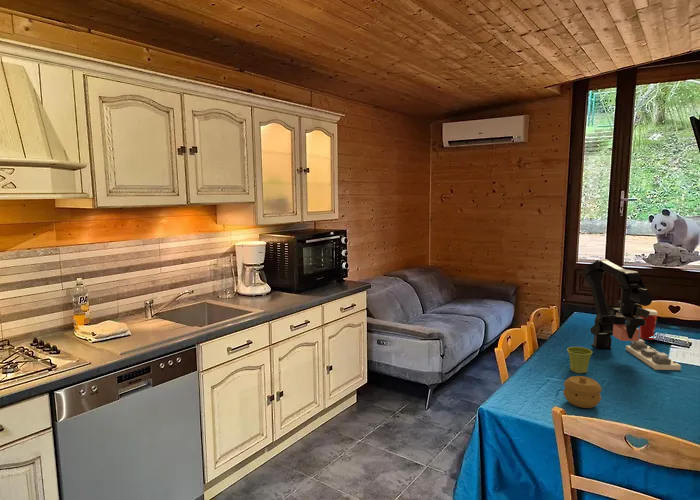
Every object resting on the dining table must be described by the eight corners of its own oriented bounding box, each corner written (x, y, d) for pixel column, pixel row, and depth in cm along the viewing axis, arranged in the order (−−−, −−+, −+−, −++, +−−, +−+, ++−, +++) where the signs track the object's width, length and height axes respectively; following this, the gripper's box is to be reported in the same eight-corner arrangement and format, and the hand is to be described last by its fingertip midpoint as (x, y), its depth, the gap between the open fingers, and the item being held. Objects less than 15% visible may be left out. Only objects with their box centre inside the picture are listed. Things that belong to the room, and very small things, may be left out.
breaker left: (637, 345, 215) (637, 341, 215) (633, 343, 218) (633, 338, 218) (644, 345, 215) (644, 341, 215) (640, 343, 218) (641, 339, 218)
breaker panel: (654, 369, 197) (655, 360, 196) (625, 349, 220) (626, 341, 220) (680, 370, 196) (681, 360, 195) (648, 350, 220) (649, 341, 219)
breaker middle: (647, 355, 207) (647, 351, 206) (643, 353, 210) (643, 349, 209) (655, 356, 206) (655, 351, 206) (651, 353, 209) (651, 349, 209)
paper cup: (659, 340, 233) (661, 312, 231) (643, 340, 233) (645, 312, 231) (649, 335, 241) (651, 308, 239) (634, 335, 241) (636, 308, 239)
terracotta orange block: (620, 340, 204) (621, 329, 204) (612, 335, 212) (613, 324, 211) (638, 340, 204) (639, 329, 203) (630, 335, 211) (630, 324, 210)
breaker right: (659, 360, 197) (660, 355, 197) (655, 357, 201) (655, 352, 200) (667, 360, 197) (668, 355, 197) (663, 357, 200) (663, 352, 200)
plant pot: (565, 372, 194) (566, 352, 193) (566, 365, 202) (567, 345, 201) (591, 376, 190) (592, 355, 189) (591, 368, 198) (592, 348, 197)
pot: (604, 414, 159) (606, 385, 158) (565, 410, 162) (567, 381, 161) (596, 399, 170) (598, 372, 169) (560, 395, 173) (562, 369, 172)
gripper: (660, 306, 196) (657, 342, 198) (636, 295, 214) (634, 329, 216) (631, 305, 196) (629, 342, 199) (610, 295, 215) (608, 329, 217)
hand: (625, 335), depth 208 cm, fingers closed on terracotta orange block, 7 cm apart
